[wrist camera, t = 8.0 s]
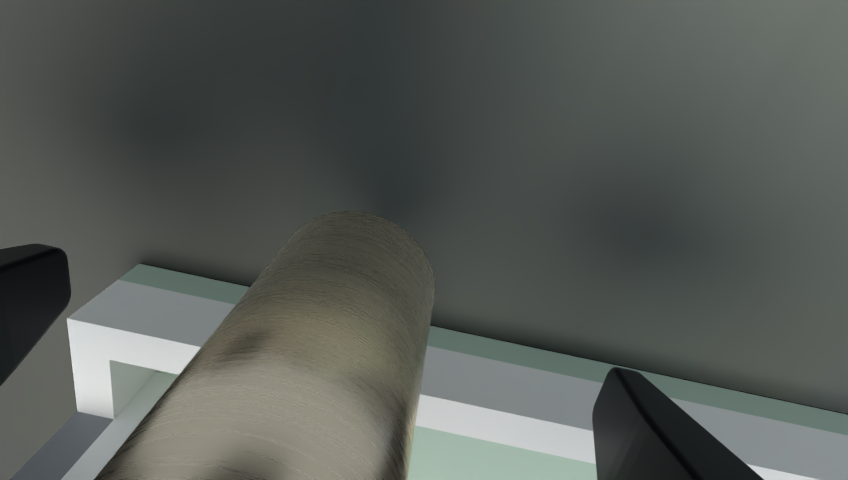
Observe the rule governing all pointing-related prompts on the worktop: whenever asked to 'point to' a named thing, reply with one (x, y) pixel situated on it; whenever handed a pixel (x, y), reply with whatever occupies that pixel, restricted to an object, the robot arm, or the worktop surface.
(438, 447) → the pitch
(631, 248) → the worktop surface
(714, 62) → the worktop surface
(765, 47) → the worktop surface
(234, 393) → the cylinder
